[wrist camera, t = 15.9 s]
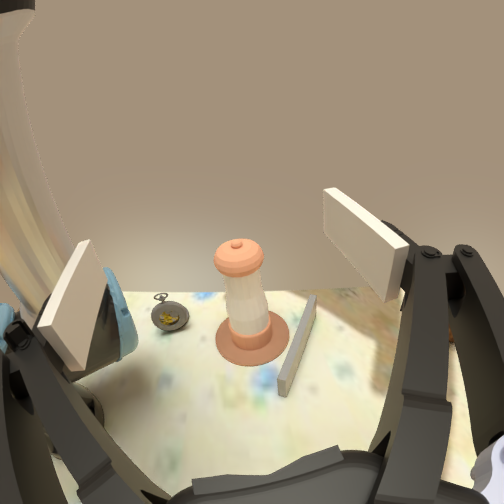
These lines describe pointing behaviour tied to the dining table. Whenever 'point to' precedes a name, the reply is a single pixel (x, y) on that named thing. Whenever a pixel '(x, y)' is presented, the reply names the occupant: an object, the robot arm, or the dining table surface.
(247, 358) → the coaster
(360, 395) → the dining table surface
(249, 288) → the pepper shaker
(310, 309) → the low wall
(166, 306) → the pocket watch
